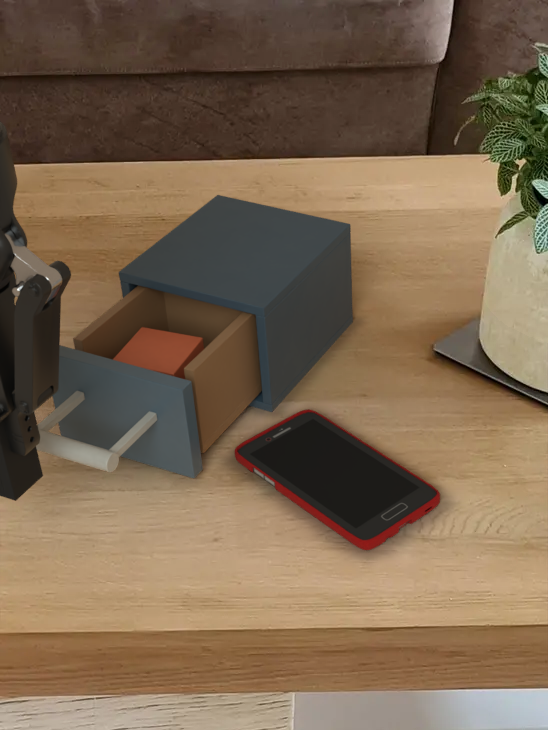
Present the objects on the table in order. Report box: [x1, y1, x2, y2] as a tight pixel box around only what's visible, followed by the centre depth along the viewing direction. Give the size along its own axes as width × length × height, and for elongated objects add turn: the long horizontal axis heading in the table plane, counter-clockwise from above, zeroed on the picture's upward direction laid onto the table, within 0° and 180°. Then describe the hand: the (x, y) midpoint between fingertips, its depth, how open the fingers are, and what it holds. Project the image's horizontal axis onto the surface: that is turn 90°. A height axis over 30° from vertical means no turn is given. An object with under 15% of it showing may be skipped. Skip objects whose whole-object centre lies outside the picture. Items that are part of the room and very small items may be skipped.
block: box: [113, 327, 204, 379], centre depth 87 cm, size 5×5×5 cm
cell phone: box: [234, 409, 441, 551], centre depth 84 cm, size 8×15×1 cm, turn 46°
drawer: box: [36, 285, 262, 479], centre depth 85 cm, size 20×11×8 cm, turn 158°
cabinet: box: [118, 194, 354, 413], centre depth 95 cm, size 15×13×10 cm
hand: (19, 484), depth 74 cm, fingers closed
